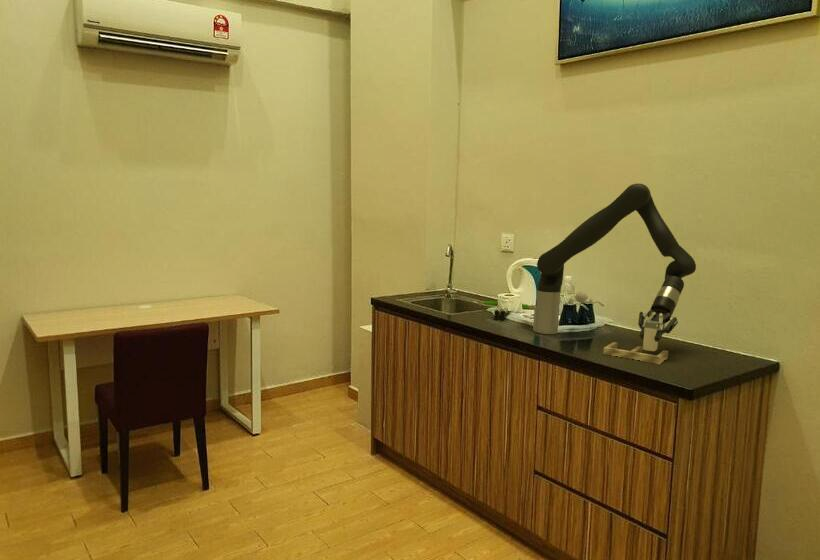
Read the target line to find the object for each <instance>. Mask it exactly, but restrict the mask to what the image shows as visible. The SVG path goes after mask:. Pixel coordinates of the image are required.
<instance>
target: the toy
mask: <svg viewBox="0 0 820 560" xmlns="http://www.w3.org/2000/svg"><path fill="white" fill-rule="evenodd" d="M574 299H575V300H576V302H577V303H581V304H582V303H583V304H584V303H586V301H587V300H588V299H589V296H588V294H587V293H586V292H585V291H582V290H581V291H578V292H576V294H575V295H574ZM574 299H573V298H572V297H570V298H569V299H568V300H567V304H568V303H573V304H574ZM588 303H592V304H593V305H594V301H593V299H592V298H590V299H589V300H588ZM588 303H587V304H588Z"/></svg>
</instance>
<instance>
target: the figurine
mask: <svg viewBox="0 0 820 560" xmlns="http://www.w3.org/2000/svg"><path fill="white" fill-rule="evenodd" d="M498 302H499V301H492V300H491V301H489V300H485V301H482V300H478V301H476V304H477V305H479V306H483V305H485V306H486V305H487V306H495V307H496V309H495V310H494V312H493V314H494V317H493V318H494V320H495V321H499V319H500V321H505V319H506V317H505V316H506V315H507V312H508V308H506V307H505V308H504V309H502V307H501V306H500V305H498ZM521 304H522V308H521V309H530V310H533V311H534V309H535V308H536V306H537V305H532V304H531V305H529V304H526V303H525V304H524V303H521ZM497 305H498V306H497ZM508 313H509V312H508ZM499 317H500V318H499Z"/></svg>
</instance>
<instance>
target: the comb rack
mask: <svg viewBox="0 0 820 560" xmlns="http://www.w3.org/2000/svg"><path fill="white" fill-rule="evenodd" d="M618 345H619V342H615V341H613V342H611V343H609V344H608V345H605V346H604V347H603V354H604V355H603V354H602V355H603V356H609V355H611V356H610V357H614V356H618V357H617V358H620V357H623V358H622V359H626V358H628V359H627V360H632V359H634V360H633V361H637V360H640V361H639V362H643V361H644V362H643V363H650V364H654V363H655V364H656V365H661V364H662V363H664V362H665V361H666V360H667V359H668V358H669V350H662V351H661V352H660V353H658V354H657V355H656V354H650V353H643V346H641V345H640V346H639V345H637V346H636V347H634V348H633V349H631V350H626V349H619V348H618ZM664 360H665V361H664Z"/></svg>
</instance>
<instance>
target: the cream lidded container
mask: <svg viewBox="0 0 820 560" xmlns="http://www.w3.org/2000/svg"><path fill="white" fill-rule="evenodd" d="M646 320H647V319H646ZM646 320H645V321H644V323H645V328H644V339H642V340H643V341H642V351H643V350H644V351H649V352H655V351H657V350H658V345H659V344H658V343H659V341H658V342H655V340H654V337H655V335H656V333H657V331H658V330H659V322H658V321H650V320H647V321H646Z"/></svg>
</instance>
